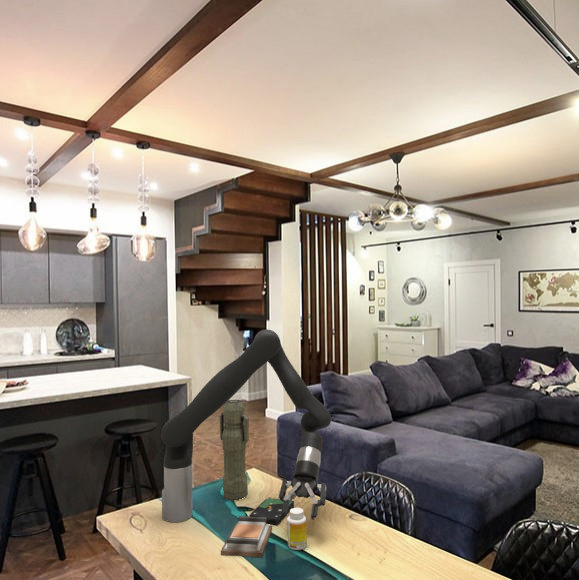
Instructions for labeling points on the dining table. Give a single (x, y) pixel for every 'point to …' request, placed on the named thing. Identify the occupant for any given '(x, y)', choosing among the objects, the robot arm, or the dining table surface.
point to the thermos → (234, 449)
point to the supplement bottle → (296, 529)
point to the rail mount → (248, 537)
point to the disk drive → (271, 511)
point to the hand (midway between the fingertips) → (298, 516)
